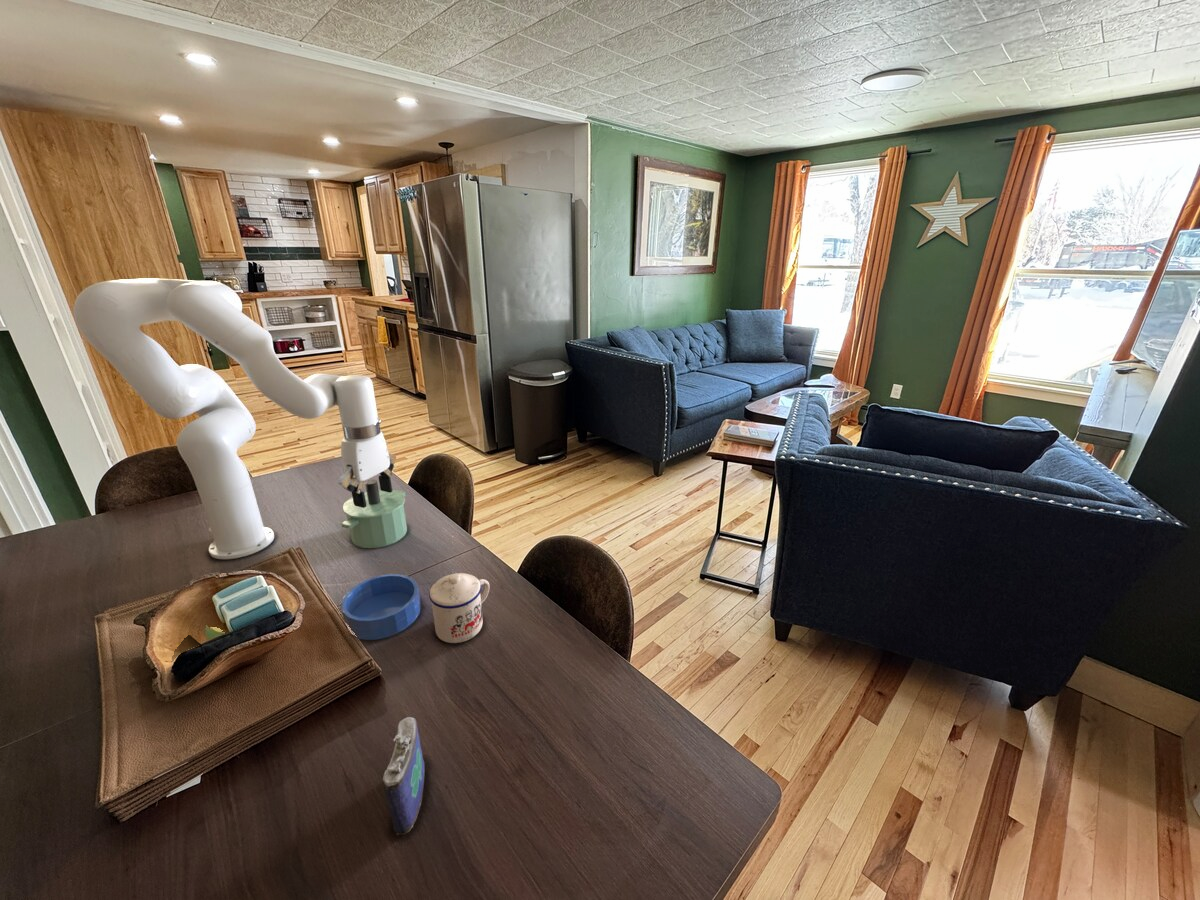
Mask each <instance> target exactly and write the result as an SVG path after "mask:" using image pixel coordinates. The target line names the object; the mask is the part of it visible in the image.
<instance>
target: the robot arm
mask: <svg viewBox="0 0 1200 900" xmlns="http://www.w3.org/2000/svg"><path fill="white" fill-rule="evenodd" d="M73 318H74V322H75V324H76V327H77V329H78V331H79V332H80V334H81V335H82V336H83V338H84V339H85V340H86V341H87V343H89V344H90V345H91V347H93V348H94V349H95V350H96V351H97V352H98V353H99V354H100V355H101V356H102V357H104V358H105V360H106V361H108V362H109V364H111V366H112V367H113V368H114V369H115V370H116V372H118V374H119V375H120V376H121V378H122V379H124V380H125V382H127V384H128V385H129V386H130V388H132V389H133V390H134V391H135V392H136V393H137V395H138V396H139V397H140V398H141V399H142V400H143V402H144V403H145V404H147V406H148V407H149V408H150V409H151V410H152V411H153V412H155V413H156V415H158V416H160V417H163V418H164V419H169V420H176V419H183V418H184V417H188V416H190V415H192V414H194V413H196V415H198V418H196V419H194V420H193V421H190V422H189V423H188V424H186V425H185V426H184V427H183V428H181V431H180V432H179V433H178V435H177V439H176V447H177V450H178V453H179V455H180V457H181V458H182V460H183V461H184V463H185V464H186V466H187V468H188V469H189V472H190V474H191V477H192V479H193V481H194V484H195V487H196V490H197V493H198V495H199V498H200V502H201V505H202V508H203V510H204V513H205V517H206V520H207V522H208V525H209V528H208V529H207V532H208V533H211V535H212V537H213V541H212V542H211V543H210V544H209V546H208V553H209V555H210V557H212V558H214V559H217V560H234V559H235V560H236V559H239V558H244V557H247V556H251V555H253V554H255V553H258V552H260V551H262V550H263V549H265V548H267V547H268V546H270V545H271V543H272V542H273V541H274V539H275V533H274V530H272V529H271V528H270V527H266V526H265V525H264V523H263V519H262V515H261V512H260V508H259V506H258V501H257V497H256V495H255V491H254V487H253V483H252V480H251V477H250V474H249V470H248V469H247V466H246V465H245V463H244V462H243V460H242V459H241V458H240V456H239V454H238V450H240V448H241V447H243V446H244V445H245V444H247V443H248V442H250V441H251V440H252V438H253V437H254V436H255V434H256V431H257V425H256V421H255V418H254V417H253V415H252V413H251V412H250V410H249V409H248V408H247V407H246V406H245V404H244V403H243V402H242V401H241V399H240V398H239V397H238V396H237V395H236V394H235V392H234V390H232V389H231V386H229V385H228V383H226V380H224V379H223V377H221V375H219V373H217V372H215V371H214V370H213V369H212V368H209V367H208V366H204V365H201V364H195V363H188V364H182V365H179V364H178V363H177V362H176V361H175V360H174V359H173V358H172V357H171V355H170V354H169V353H168V351H167V350H166V349H165V348H164V347H163V346H162V345H161V344H160V343H159V342H158V341H156V340H154V339H153V338H152V337H150V336H149V335H147V334H146V333H144V332H143V331H142V330H141V328H140V327H142V326H145V325H151V324H156V323H161V322H171V321H172V322H180V323H181V324H182V325H184V326H185V327H187V328H188V329H189V330H191V331H193V332H194V333H195V334H197V335H198V336H200V337H201V338H202V339H204V340H205V341H207V342H208V343H209V344H211V345H213V346H214V347H215V348H217V349H218V350H220V351H221V352H223V353H224V354H225V355H226V356H228V357H230V358H231V359H232V360H234V361H235V362H236V363H238V365H240V367H241V369H242V371H243V373H244V374H245V376H246V377H247V378H248V379H249V380H250V382H251V384H253V385H254V387H255V388H256V389H257V390H258V391H259V392H260V393H261V394H262V395H263V396H264V397H266V398H267V399H268V400H269V401H271V402H273V403H274V404H276V405H277V406H279V407H280V408H282V409H283V410H285V411H286V412H288V413H289V414H291V415H293V416H295V417H298V418H300V419H305V420H306V419H308V420H311V419H317V418H320V417H321V416H322V415H324V414H325V413H326V412H327V411H328V410H330V409H331V408H333V407H335V406H338V412H339V417H340V421H341V422H340V423H341V426H342V427H341V428H342V432H343V438H342V439H341V442H340V443H341V446H340V451H341V452H340V456H341V466H342V475H341V476H340V478H339V479H338V481H337V484H338V485H339V486H340V487H342V488H343V489H344V490H346V491H348V492H351V496H352V497H353V502H354V505H355V506H358V507H362V508H365V507H366V506H367V505H366V500H365V494H364V491H362V490H363V486H364V484H365V482H366V481H368V480H370V479H371V478H373V477H375V476H377V475H378V482H379V483H378V484H379V488H380V489H379V490H381V491H385V492H389V493H391V492H392V490H393V485H392V480H391V477H392V476H393V470H394V468H395V465H394V464H395V462H396V460H397V456H396V455H394V454H391V453H389V449H388V445H387V441H386V439H385V436H384V433H383V432H382V431H381V428H380V427H381V426H380V425H381V423H382V421H381V419H379V415H378V409H377V401H376V396H375V390H374V384H373V381H372V379H371V378H370V377H369V376H367V375H364V374H350V375H337V374H331V373H330V374H329V373H315V374H312V375H309V376H308V377H306V378H305V379H302V378H301V377H300V376H298V375H297V374H296V373H294V372H293V371H291V370H290V369H289V368H288V367H287V366H285V364H284V363H283V362H282V361H281V360H280V359H279V357H278V356H277V354H276V352H275V348H274V341H273V337H272V335H271V333H270V332H269V331H268V330H267V329H265V328H264V327H262V326H261V325H260V324H258V323H257V322H256V321H254V320H253V319H252V318H250V317H249V316H248V315H247V314H245V313H243V303H242V300H241V298H240V296H239V295H238V294H237V292H236V291H235V290H234V289H232V288H231V287H230V286H228V285H226V284H224V283H222V282H219V281H214V280H193V279H192V280H190V279H189V280H188V279H175V278H174V279H172V278H171V279H170V278H155V277H153V278H151V277H150V278H149V277H148V278H131V279H128V278H127V279H113V280H104V281H100V282H96V283H94V284H91V285H88V286H87V287H85V288H84V289H82V291H80V292H79V294H78V295H77V297H76V299H75V300H74V303H73ZM352 497H351V498H352Z"/></svg>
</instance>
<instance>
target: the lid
mask: <svg viewBox="0 0 1200 900" xmlns="http://www.w3.org/2000/svg"><path fill="white" fill-rule="evenodd" d="M378 484H379V483H378V480H377V479H367V480H365V481H364V486H365V492H364V491H363V492H364V494H365V500H366V505H367V506H366V507H365V508H362V507H358V506H355V505H354V502H353V497H350V498H349V499H348V500H346V501H345V502H344V503H343V506H342V512H343V513H344V515H346V517H347V516H350V517H353V518H375V517H380V516H384V515H387V514H389V513H392V512H394V511H396V510H398V509H399V508H400V507H401V506H402V505H404V504H405V502H406V495H405V496H404V495H403V494H402V493H401V492H399V491H400V490H399V491H398V490H396V489H392V492H391V493H389V492H385V491H381V489H379V485H378Z"/></svg>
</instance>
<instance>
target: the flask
mask: <svg viewBox="0 0 1200 900" xmlns="http://www.w3.org/2000/svg"><path fill="white" fill-rule="evenodd" d="M418 729H419V728H418V722H417V720H416V718H414V717H412V716H407V717H405V718H403V719H402V720H400V721H399V722H398V724H397V726H396V735H395V736H394V738H393V739H392V741H393V742H395V743H394V747H393V752H392V755H391V758H390V761H389V764H387V767H386V769H385V770H384V774H383V775H382V788H383V791H384V795H385V797H386V801H387V806H388V809H389V813H390V817H391V821H392V825H393V830H394V832H395V833H396V836H398V835H406V834H408V833H409V832H410V831H411V829H413V828H414V825H415V822H416V821H417V818H418V815H419V812H420V809H421V805H422V803H423V802H422V801H423V797H424V787H425V786H424V785H425V779H426V778H425V777H426V774H425V773H426V770H425V768H426V767H425V761H424V757H423V751H422V746H421V740H420V734H419V730H418Z"/></svg>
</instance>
